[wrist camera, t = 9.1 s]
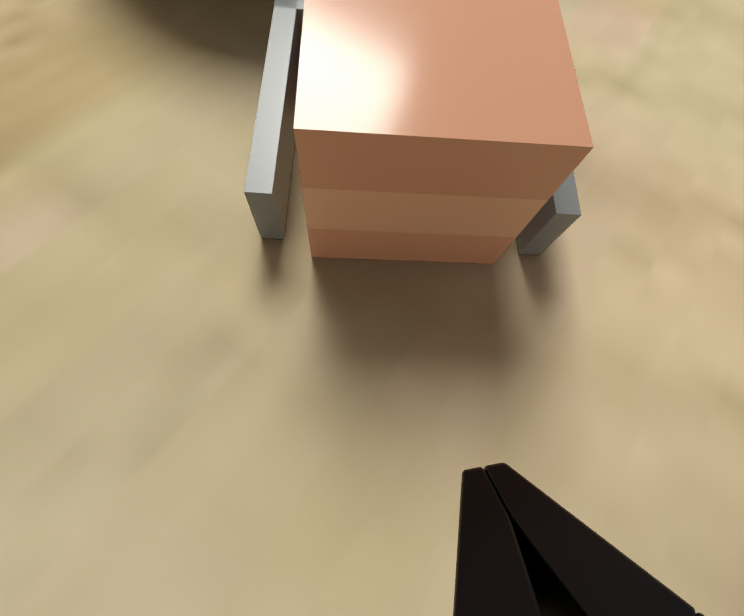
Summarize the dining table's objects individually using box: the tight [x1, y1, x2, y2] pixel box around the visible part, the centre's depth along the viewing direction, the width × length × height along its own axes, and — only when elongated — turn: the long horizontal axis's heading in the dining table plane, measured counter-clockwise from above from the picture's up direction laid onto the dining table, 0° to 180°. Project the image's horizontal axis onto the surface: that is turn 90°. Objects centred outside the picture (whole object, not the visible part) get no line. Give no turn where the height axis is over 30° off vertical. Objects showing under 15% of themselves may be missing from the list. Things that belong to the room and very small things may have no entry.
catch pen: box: [244, 0, 581, 255], centre depth 22 cm, size 13×15×4 cm
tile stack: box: [293, 0, 593, 264], centre depth 19 cm, size 12×10×9 cm
